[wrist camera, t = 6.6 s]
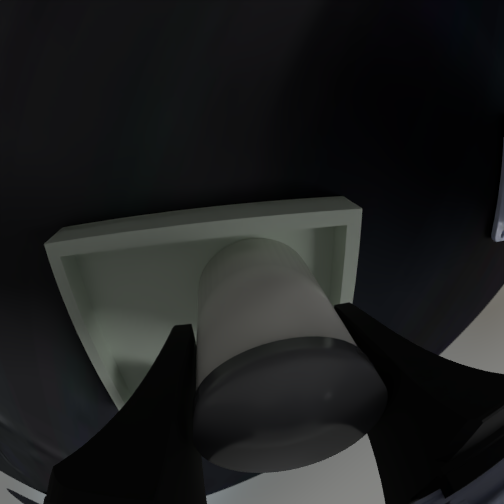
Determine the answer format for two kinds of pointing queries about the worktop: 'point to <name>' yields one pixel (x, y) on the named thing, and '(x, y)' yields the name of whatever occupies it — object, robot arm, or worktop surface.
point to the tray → (182, 271)
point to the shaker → (275, 365)
